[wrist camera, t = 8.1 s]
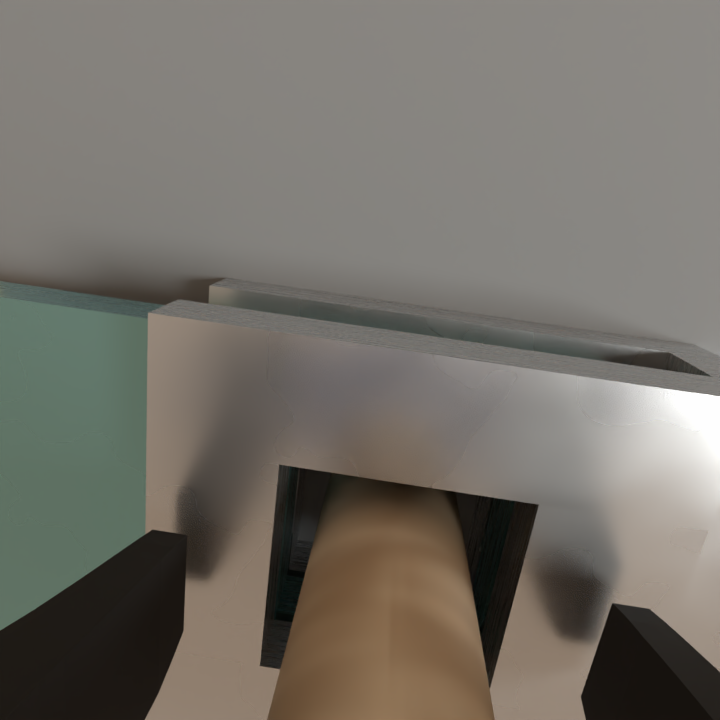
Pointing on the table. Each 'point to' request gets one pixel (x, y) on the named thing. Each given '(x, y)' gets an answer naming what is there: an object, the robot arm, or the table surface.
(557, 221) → the rubber mat
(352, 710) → the maple pin
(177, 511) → the peg hole fixture
